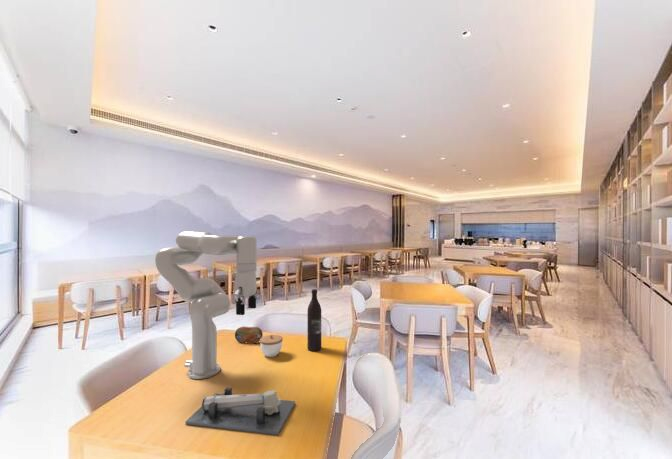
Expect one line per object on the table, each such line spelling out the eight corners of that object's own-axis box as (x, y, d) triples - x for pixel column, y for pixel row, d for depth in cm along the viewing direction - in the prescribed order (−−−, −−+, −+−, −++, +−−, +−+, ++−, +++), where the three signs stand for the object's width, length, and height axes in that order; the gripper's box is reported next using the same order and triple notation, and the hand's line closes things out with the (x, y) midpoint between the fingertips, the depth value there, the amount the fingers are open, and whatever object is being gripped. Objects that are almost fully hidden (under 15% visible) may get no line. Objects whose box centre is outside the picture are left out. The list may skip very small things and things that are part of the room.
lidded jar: (256, 354, 144) (256, 334, 144) (275, 348, 151) (275, 329, 151) (267, 361, 136) (267, 340, 136) (286, 354, 143) (286, 335, 143)
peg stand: (185, 424, 91) (185, 408, 91) (215, 396, 107) (215, 382, 107) (278, 435, 86) (278, 418, 86) (295, 404, 102) (295, 389, 102)
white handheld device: (207, 393, 100) (280, 384, 98) (210, 412, 100) (283, 404, 98) (200, 401, 94) (276, 393, 93) (202, 422, 94) (279, 414, 93)
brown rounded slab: (234, 342, 159) (234, 327, 159) (237, 340, 162) (237, 325, 162) (260, 344, 156) (261, 328, 156) (263, 342, 159) (263, 326, 159)
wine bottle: (310, 352, 145) (310, 291, 145) (305, 347, 152) (305, 289, 152) (323, 350, 148) (323, 290, 148) (318, 345, 154) (318, 288, 155)
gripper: (247, 265, 125) (247, 305, 125) (225, 270, 108) (225, 317, 108) (264, 265, 124) (264, 306, 124) (245, 270, 107) (245, 318, 107)
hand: (246, 311), depth 116 cm, fingers open, 9 cm apart
